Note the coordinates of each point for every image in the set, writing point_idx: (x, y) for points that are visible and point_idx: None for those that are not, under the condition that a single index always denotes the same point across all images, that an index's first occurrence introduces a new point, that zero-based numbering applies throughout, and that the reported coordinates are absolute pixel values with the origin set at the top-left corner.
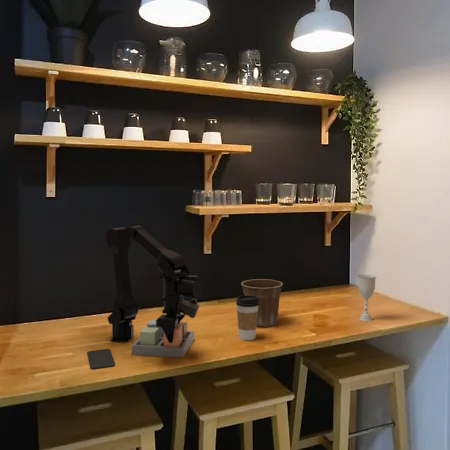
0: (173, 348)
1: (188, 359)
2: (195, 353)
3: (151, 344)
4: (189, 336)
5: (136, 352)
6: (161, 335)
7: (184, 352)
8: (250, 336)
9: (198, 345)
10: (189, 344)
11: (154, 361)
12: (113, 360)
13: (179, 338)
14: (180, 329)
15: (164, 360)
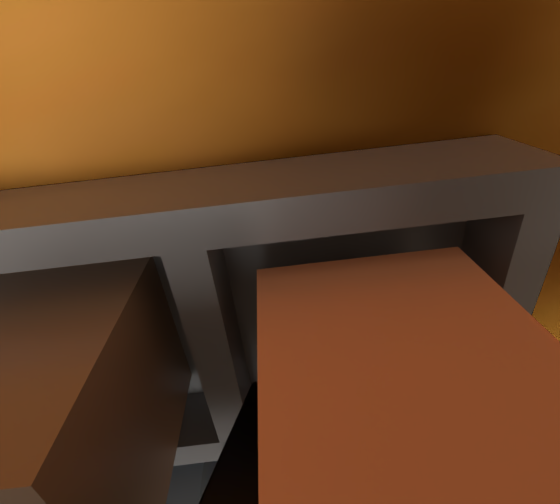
0: (534, 285)
1: (556, 49)
2: (349, 17)
3: None
4: (40, 247)
5: None
6: (198, 488)
7: (454, 150)
8: None
9: (47, 73)
10: (160, 182)
11: (555, 332)
12: None
13: (470, 324)
14: (465, 488)
15: (546, 277)
